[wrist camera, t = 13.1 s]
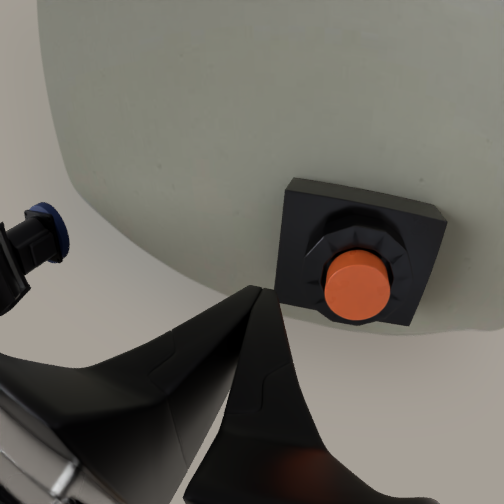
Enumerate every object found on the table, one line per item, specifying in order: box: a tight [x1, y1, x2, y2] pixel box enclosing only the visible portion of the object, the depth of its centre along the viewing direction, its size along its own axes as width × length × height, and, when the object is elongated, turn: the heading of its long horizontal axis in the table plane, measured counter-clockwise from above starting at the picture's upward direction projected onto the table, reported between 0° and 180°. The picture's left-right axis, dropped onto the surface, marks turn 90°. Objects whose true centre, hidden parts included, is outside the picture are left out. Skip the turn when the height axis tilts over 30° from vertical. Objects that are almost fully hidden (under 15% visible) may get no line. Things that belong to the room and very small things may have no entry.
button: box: [325, 250, 390, 320], centre depth 16 cm, size 4×4×2 cm
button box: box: [274, 178, 447, 326], centre depth 19 cm, size 10×8×5 cm
